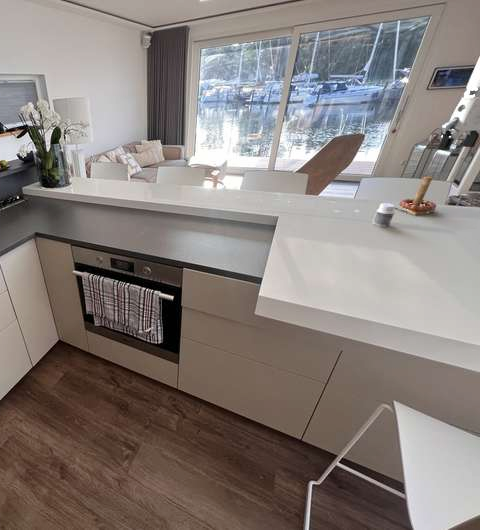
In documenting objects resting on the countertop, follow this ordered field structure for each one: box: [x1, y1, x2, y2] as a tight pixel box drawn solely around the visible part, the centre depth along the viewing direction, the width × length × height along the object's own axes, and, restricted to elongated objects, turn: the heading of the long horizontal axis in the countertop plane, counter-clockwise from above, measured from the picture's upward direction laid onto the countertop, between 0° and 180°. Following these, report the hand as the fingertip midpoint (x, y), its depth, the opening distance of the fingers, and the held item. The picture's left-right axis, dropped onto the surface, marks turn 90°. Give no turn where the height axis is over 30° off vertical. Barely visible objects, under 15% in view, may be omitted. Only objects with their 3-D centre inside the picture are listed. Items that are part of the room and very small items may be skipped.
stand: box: [406, 176, 436, 216], centre depth 112 cm, size 8×8×13 cm
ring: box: [398, 198, 437, 211], centre depth 114 cm, size 10×10×2 cm
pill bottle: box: [371, 202, 396, 228], centre depth 103 cm, size 5×5×8 cm
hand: (455, 148), depth 103 cm, fingers open, 9 cm apart
